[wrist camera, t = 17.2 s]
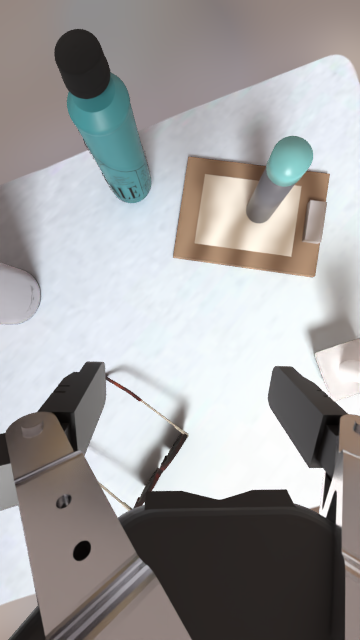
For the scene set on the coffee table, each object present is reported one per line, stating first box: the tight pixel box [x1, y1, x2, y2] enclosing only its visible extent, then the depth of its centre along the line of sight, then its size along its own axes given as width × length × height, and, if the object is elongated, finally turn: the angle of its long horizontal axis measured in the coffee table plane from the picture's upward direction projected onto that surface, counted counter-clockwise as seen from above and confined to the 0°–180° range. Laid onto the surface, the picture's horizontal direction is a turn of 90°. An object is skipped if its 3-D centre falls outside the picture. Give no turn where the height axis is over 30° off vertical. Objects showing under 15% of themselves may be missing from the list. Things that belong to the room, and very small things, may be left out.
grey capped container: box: [246, 136, 313, 223], centre depth 31 cm, size 4×4×12 cm
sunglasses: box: [98, 376, 188, 511], centre depth 36 cm, size 14×16×5 cm
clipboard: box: [173, 157, 330, 277], centre depth 37 cm, size 22×16×2 cm
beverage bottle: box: [55, 29, 151, 203], centre depth 29 cm, size 6×7×20 cm
